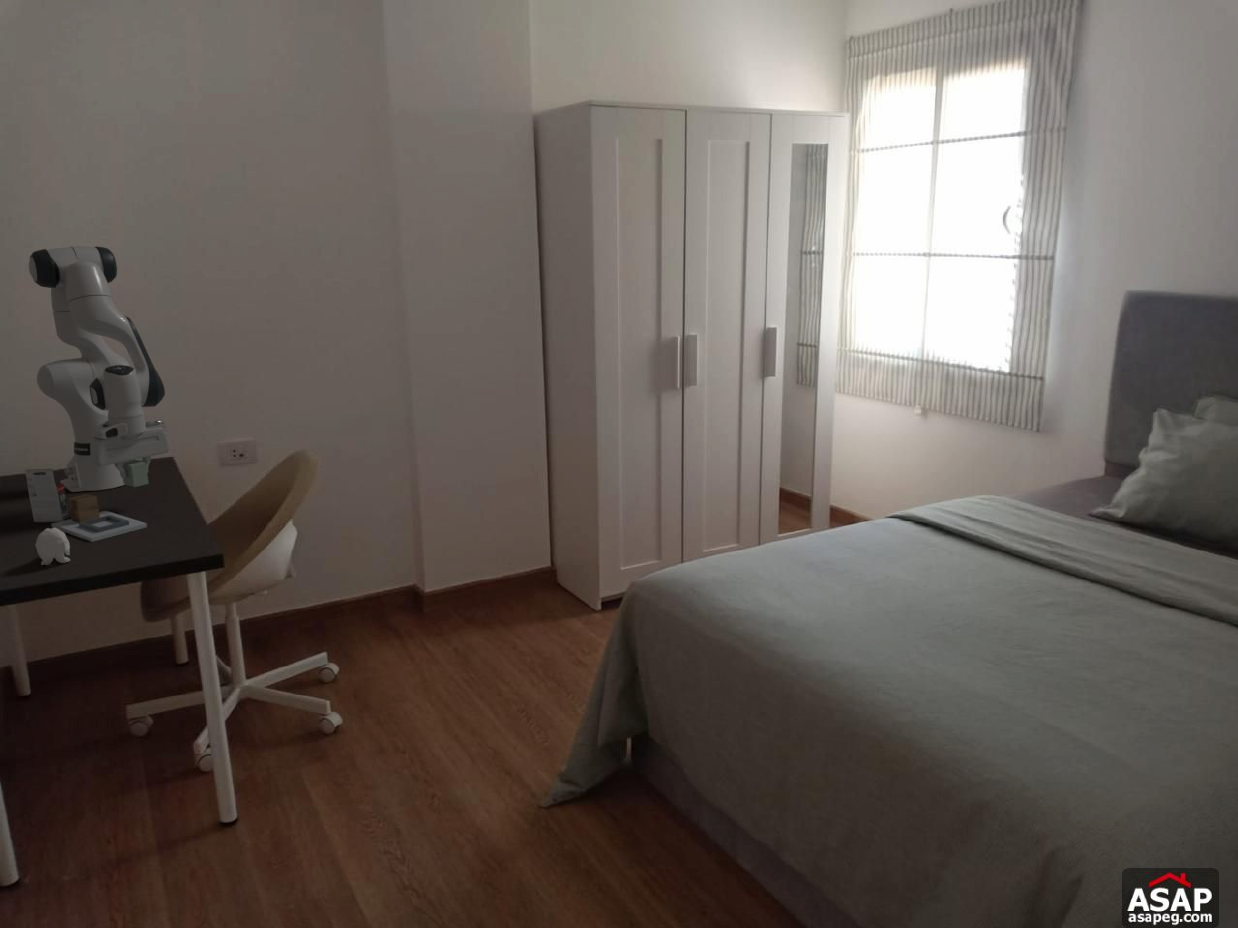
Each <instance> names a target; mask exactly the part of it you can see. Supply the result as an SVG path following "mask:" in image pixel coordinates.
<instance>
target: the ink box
mask: <svg viewBox="0 0 1238 928" xmlns="http://www.w3.org/2000/svg"><path fill="white" fill-rule="evenodd" d="M39 472H40V473H45V474H35V473H39ZM25 477H26V484H27V491H28V496H29V502H30V506H31V511H32V512H31V513H32V518H33V522H34V523H57V522H61V521H65V520H69V519H71V518H70V517H71V516H70V510H69V508H68V507H69V505H68V501H67V500H68V499H67V496H66V495H67V494H66V488H65V487H64V484H63V483H60V482H59V483H56V477H55V471H54V468H39V469H32V468H31V469H25Z"/></svg>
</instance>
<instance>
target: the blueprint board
mask: <svg viewBox="0 0 1238 928" xmlns="http://www.w3.org/2000/svg"><path fill="white" fill-rule="evenodd" d="M67 500H68V501H67V502H68V507H69V513H70V517H71V518H69V519H67V520H65V521H61V522H52V523H51V529H52V528H57V529H59V530H60V531H62V532H64V533H65V534H69V535H72V536H74V537H77V538H80V539H83V540H84V541H85V540H87V541H89V542H92V543H93V542H96V541H100V540H104V539H108V538H111V537H114V536H119V535H122V534H126V533H131V532H135V531H137V530H142V529H145V528H148V525H147V524H148V523H147V522H143V521H140V520H137V519H134V518H130V517H127V516H124V515H121V514H117V513H115V512H111V511H108V510H102V511H100V509H99V503H98V498H97V496H95V495H92V494H90V493H86V494H81V495H77V496H74V497H69V498H67ZM130 531H131V532H130Z"/></svg>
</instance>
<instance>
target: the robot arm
mask: <svg viewBox="0 0 1238 928" xmlns="http://www.w3.org/2000/svg"><path fill="white" fill-rule="evenodd" d="M28 271H29V274H30V276H31V278H32V279H33V281H34V283H35V284H36V285H38V286H40V287H42V288H47V289H50V299H51V309H52V315H53V320H54V325H55V331H56V332H55V333H56V336H57V337H58V339H59V340H60V341H61V342H63V343H64V344H67V345H68V346H72V347H74V348H77V349H78V351H79V352H80V354H81V357H77V358H67V359H60V360H59V359H58V360H55V361H52V362H48V363H46V364H43V365H41V366H40V368H39V370H38V372H37V374H36V383H37V385H38V388H39V390H40V391H41V392H42V393H43V394H44V395H45V396H47V397H49V398H51V399H53V400H54V401H56V402H57V403H58V404H60V405H61V406H62V408H64V410H65V412H66V413H67V414H68V416H69V419H70V422H71V425H72V431H73V435H74V440H75V441H74V442H73V454H74V455H73V456H72V458H71V459H70V460H69V461H68V463H67V465H66V467H64V469H63V473H64V475H65V476H67V478H64V479H62V480H60V482H59V483H63V484H64V489H66V490H68V491H69V492H71V493H77V492H78V493H79V492H89V491H90V492H91V491H92V492H93V491H103V490H110V489H114V488H118V487H122V486H125V485H126V484H123V478H126V477H129V473H128V471H126V470H124V469H123V468H122V467H121V466H123V462H126V461H130V460H138V459H142V460H143V462H145V463H146V468H147V474H148V473H149V466H150V463H151V461H152V457H154V456H158V455H159V456H160V455H163V454H167V453H168V452H169V451H170V448H171V446H170V442H169V438H168V435H167V426H166V424H165V422H164V421H160V420H155V421H147V422H146V419H145V412H144V409H143V408H149V407H150V408H151V407H156V406H157V405H158V404H159V403H160V402H162V400H163V399H164V397H165V395H166V393H165V392H166V390H165V385H164V383H163V381H162V378H161V376H160V374H159V373H158V371H157V370H156V368H155V366H154V363H153V362H152V360H151V358H150V355H149V353H148V350H147V348H146V347H145V344H144V341H143V340H142V339H143V338H142V337H141V335H140V333H139V331H138V329H137V327H136V326H135V324H134V322H133V320H132V319H131V318H130V317H128V316H127V315H124V314H122V312H121V311H120V310H119V309H118V307H117V306H116V304H115V301H114V300H113V296H112V291H111V289H110V286H109V283H111V282H113V281H114V280H115V279H116V277H117V275H118V262H117V260H116V257H115V255H114V253H113V252H112V250H110V248H107V247H104V246H94V247H91V246H70V247H69V246H68V247H59V248H50V249H46V248H43V249H38V250H36V251H33V252H32V253H31V255H30V257H29V261H28ZM104 337H105V338H109V339H112V340H115V341H117V342H119V343H120V344H122V345H123V346H124V347H125V349H126V351H127V353H128V356H129V358H130V360H131V363H132V364H133V366H134V367H133V366H131V364H130V363H129V362H128V360H127V359H126V358H125V357H124V356H122V355H120V354H118V353H117V352H116V351H114V350H113V349H112V347H110V346H109V345H108V344H107V342H106V341H105V339H104Z"/></svg>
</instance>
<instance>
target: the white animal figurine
mask: <svg viewBox="0 0 1238 928" xmlns="http://www.w3.org/2000/svg"><path fill="white" fill-rule="evenodd" d="M35 541H36V542H35V546H34V547H36V552H37V554H38V555H39V558H40V559H41V560H42V561H41V563H40V565H41V566H42V565H46V566H49V565H50V564H51V563H52V562H54V559H55V560H56V561H57V562H59V563H62V564H67V563H66V562H68V563H70V562H71V559H70V558H69V557H67V556H70V555H71V554H70V549H71V546H70V542H69V539H68V537H67V536H66V532H63V531H60V530H59V529H57V528H52V527H51V528H49V527H47V528H45V529H44V530H43V531H41V532H40V533H39V534H38V536H37V538H36V540H35ZM65 555H66V556H65ZM69 561H70V562H69Z"/></svg>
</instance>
